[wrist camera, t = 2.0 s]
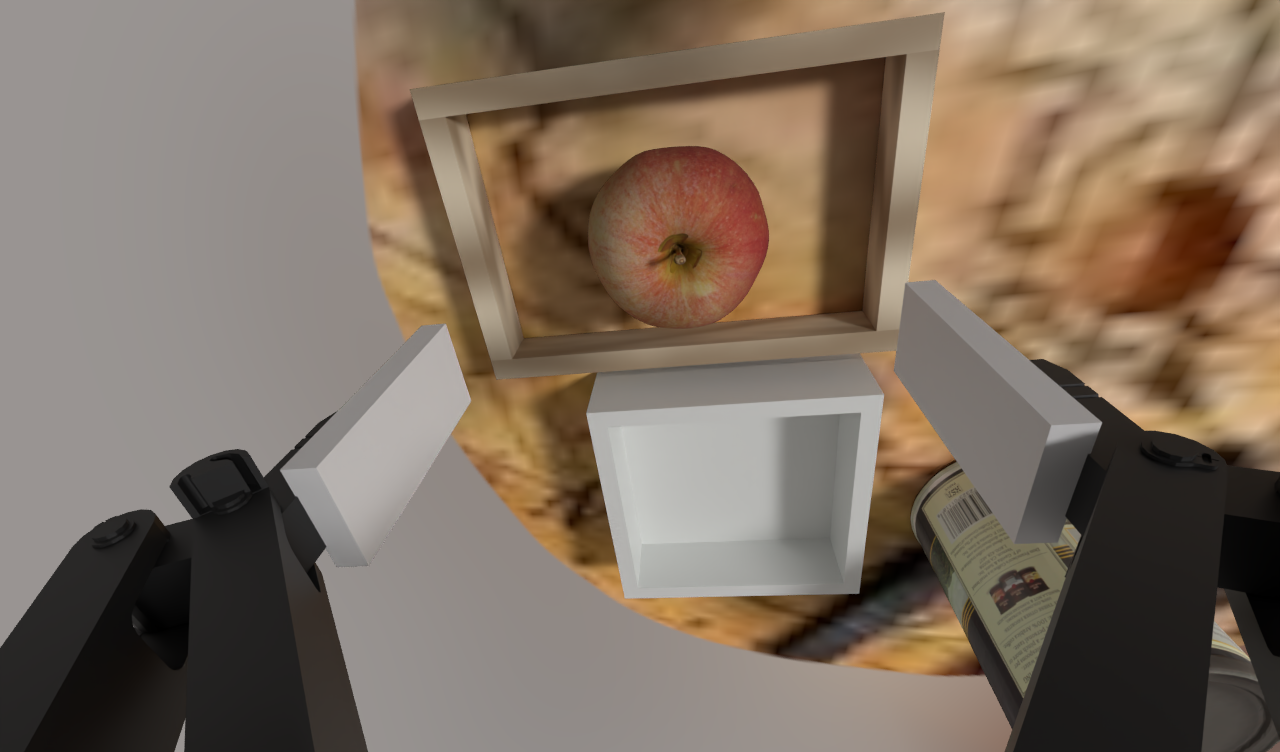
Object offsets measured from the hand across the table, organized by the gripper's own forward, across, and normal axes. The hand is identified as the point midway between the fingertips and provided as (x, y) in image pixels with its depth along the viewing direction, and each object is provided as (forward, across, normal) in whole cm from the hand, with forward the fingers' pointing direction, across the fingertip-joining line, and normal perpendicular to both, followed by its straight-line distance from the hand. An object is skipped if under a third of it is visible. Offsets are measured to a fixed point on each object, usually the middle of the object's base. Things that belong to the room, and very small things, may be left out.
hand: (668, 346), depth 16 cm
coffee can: (+14, +19, -21) cm, 31 cm away
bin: (+14, +2, -16) cm, 21 cm away
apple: (+14, 0, 0) cm, 14 cm away
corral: (+14, 0, 0) cm, 14 cm away
